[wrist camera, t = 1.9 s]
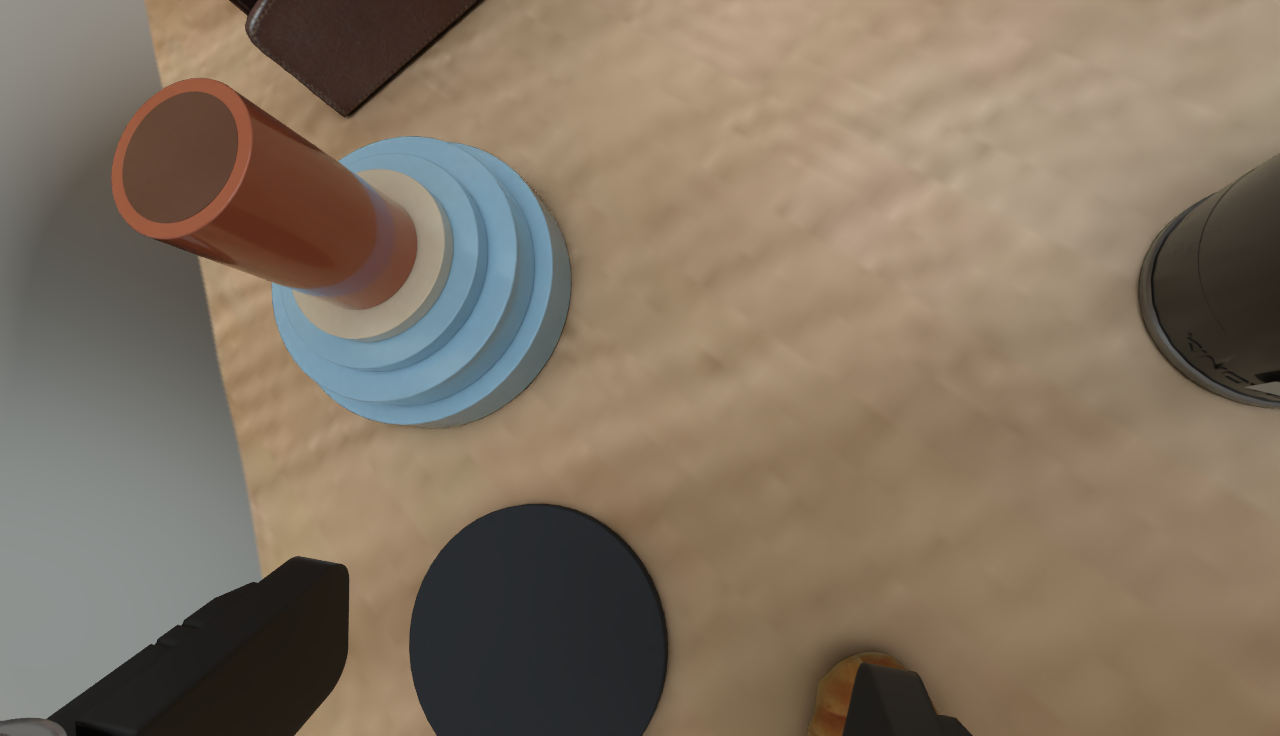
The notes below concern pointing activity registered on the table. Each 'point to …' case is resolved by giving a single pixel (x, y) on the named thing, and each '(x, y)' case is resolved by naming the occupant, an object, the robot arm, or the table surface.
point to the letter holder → (346, 40)
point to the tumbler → (258, 197)
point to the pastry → (842, 693)
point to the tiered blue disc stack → (442, 294)
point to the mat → (538, 630)
